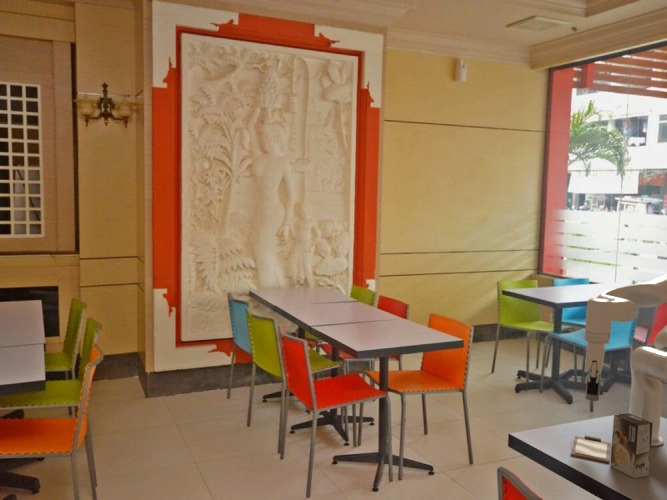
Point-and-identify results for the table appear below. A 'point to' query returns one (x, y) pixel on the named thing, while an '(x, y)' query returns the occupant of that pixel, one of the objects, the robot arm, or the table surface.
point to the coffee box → (631, 445)
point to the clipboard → (591, 449)
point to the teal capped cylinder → (596, 397)
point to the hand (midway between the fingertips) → (592, 391)
